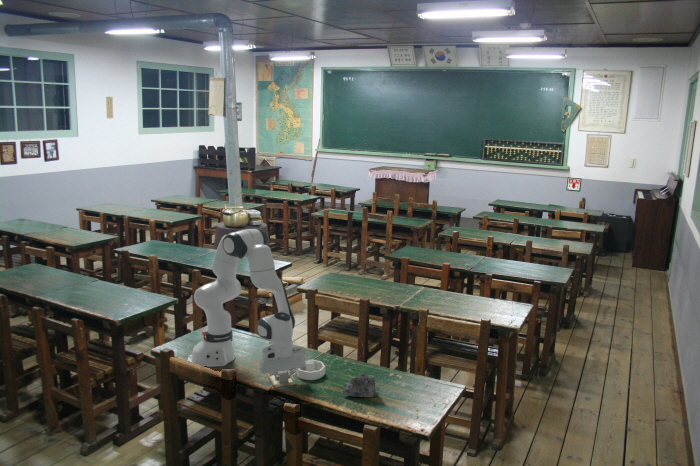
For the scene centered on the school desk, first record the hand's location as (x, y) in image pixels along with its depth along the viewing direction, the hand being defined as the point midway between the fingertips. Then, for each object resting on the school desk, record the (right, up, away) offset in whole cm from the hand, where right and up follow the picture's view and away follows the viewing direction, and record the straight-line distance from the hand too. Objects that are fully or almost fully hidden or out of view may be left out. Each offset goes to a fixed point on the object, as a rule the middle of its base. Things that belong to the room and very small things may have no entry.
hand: (282, 379), depth 242 cm
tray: (-1, -2, +3) cm, 4 cm away
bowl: (+12, -1, +9) cm, 15 cm away
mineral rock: (+34, -5, -8) cm, 35 cm away
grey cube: (+11, +1, +11) cm, 15 cm away
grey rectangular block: (0, -2, 0) cm, 2 cm away
